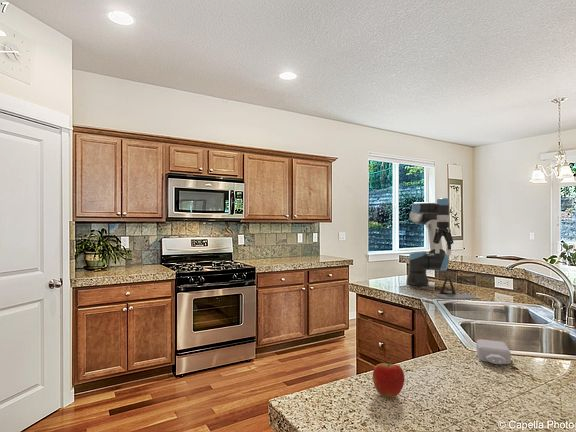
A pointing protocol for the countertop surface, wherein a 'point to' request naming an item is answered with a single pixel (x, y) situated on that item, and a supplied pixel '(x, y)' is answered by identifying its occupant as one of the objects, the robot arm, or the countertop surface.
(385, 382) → the apple
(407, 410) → the countertop surface
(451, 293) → the phone stand
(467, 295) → the mat
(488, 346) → the charger
